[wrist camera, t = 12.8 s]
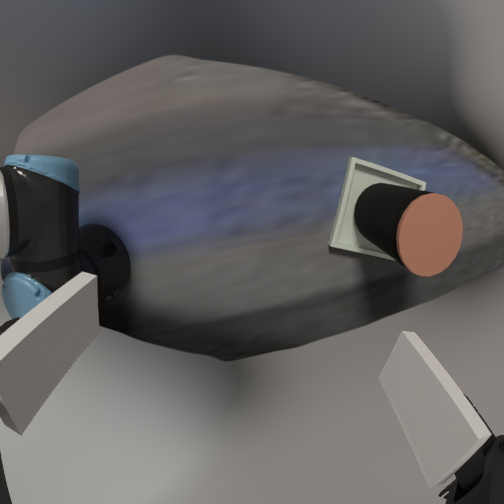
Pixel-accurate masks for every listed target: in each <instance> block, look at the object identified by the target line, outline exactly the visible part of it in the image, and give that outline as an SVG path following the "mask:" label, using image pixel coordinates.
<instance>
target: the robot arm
mask: <svg viewBox="0 0 504 504" xmlns="http://www.w3.org/2000/svg"><path fill="white" fill-rule="evenodd" d="M4 166H5V167H0V258H6V257H10V261H11V268H12V273H10V274H9V275H7V277H6V279H5V280H4V284H3V285H2V296H3V300H4V304H5V306H6V309H7V311H8V313H9V314H10V316H11V318H12V320H9V321H7V322H5V323H4V324H3V325H2V326H1V327H0V417H1V419H2V421H3V423H4V424H5V425H6V426H7V427H9V428H11V429H12V430H14V431H15V432H17V433H18V434H20V435H22V434H23V432H24V430H25V429H26V428H27V426H28V425H29V423H30V422H31V421H32V419H33V418H34V416H35V415H36V413H37V412H38V411H39V409H40V408H41V406H42V405H43V403H44V402H45V401H46V399H47V398H48V397H49V395H50V394H51V393H52V391H53V390H54V388H55V387H56V386H57V385H58V383H59V382H60V380H61V379H62V378H63V377H64V375H65V374H66V373H67V371H68V370H69V369H70V367H71V366H72V365H73V364H74V362H75V361H76V360H77V358H78V357H79V356H80V355H81V353H82V352H83V351H84V350H85V348H86V347H87V346H88V345H89V343H90V342H91V341H92V340H93V339H94V337H95V336H96V335H97V334H98V332H99V317H98V302H102V301H106V300H109V299H111V298H113V297H115V296H116V295H117V294H118V293H119V292H120V291H121V290H122V289H123V288H124V287H125V285H126V284H127V281H128V279H129V275H130V260H129V256H128V253H127V250H126V248H125V246H124V244H123V242H122V241H121V240H120V238H119V237H118V236H117V235H116V234H115V233H114V232H113V231H111V230H110V229H108V228H107V227H105V226H102V225H98V224H88V225H85V226H82V227H80V228H79V194H80V189H79V170H78V167H77V165H76V163H75V162H73V161H72V160H69V159H65V158H60V157H52V156H42V155H31V156H30V155H10V156H8V157H7V158H6V161H5V163H4ZM378 379H379V381H380V383H381V385H382V387H383V389H384V391H385V393H386V395H387V397H388V399H389V401H390V403H391V405H392V407H393V409H394V411H395V413H396V415H397V418H398V420H399V422H400V424H401V426H402V428H403V430H404V432H405V434H406V437H407V439H408V441H409V443H410V445H411V448H412V449H413V452H414V454H415V456H416V459H417V461H418V463H419V465H420V467H421V470H422V472H423V475H424V477H425V479H426V482H427V484H428V486H429V488H431V487H434V486H437V485H440V484H443V483H444V482H446V481H447V480H448V479H449V478H450V477H451V476H452V475H453V474H455V476H456V479H455V480H454V481H453V482H452V483H451V484H450V485H448V486H447V487H446V488H445V489H444V490H443V491H441V492H440V494H439V496H440V497H441V496H442V495H443V494H445V493H446V492H447V491H449V493H448V494H447V495H446V496H444V498H445V499H447V501H446V504H504V435H500V436H497V437H495V435H494V434H493V433H492V431H491V429H490V428H489V427H488V425H487V424H486V422H485V421H484V419H483V418H482V416H481V415H480V414H479V413H478V411H477V409H476V408H475V407H473V404H472V402H471V401H470V400H469V398H468V397H467V396H466V395H465V394H464V393H462V392H461V390H460V389H459V388H458V386H457V385H456V384H455V383H454V381H453V380H452V379H451V377H450V376H449V375H448V373H447V372H446V371H445V369H444V368H443V367H442V365H441V364H440V363H439V362H438V360H436V358H435V357H434V356H433V354H432V353H431V352H430V351H429V349H428V348H427V347H426V346H425V345H424V343H423V342H422V341H421V340H420V338H419V337H418V336H417V335H416V334H415V333H414V332H406V331H402V332H401V334H400V336H399V338H398V341H397V343H396V345H395V347H394V349H393V351H392V353H391V355H390V357H389V359H388V361H387V363H386V365H385V367H384V368H383V370H382V372H381V374H380V376H379V378H378ZM0 504H12V502H11V498H10V495H9V491H8V487H7V483H6V479H5V474H4V470H3V465H2V459H1V453H0Z"/></svg>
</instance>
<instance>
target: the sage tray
mask: <svg viewBox="0 0 504 504" xmlns="http://www.w3.org/2000/svg"><path fill="white" fill-rule="evenodd" d="M377 183H387V184H393V185H398V186H403V187H408V188H413V189H418V190H423V191H425V187H426V183H425V182H423V181H420V180H418V179H415V178H413V177H410V176H407V175H405V174H402V173H399V172H396V171H394V170H391V169H388V168H385V167H382V166H379V165H376V164H373V163H370V162H367V161H364V160H361V159H357V158H354V157H349V159H348V164H347V168H346V173H345V177H344V182H343V186H342V190H341V195H340V199H339V203H338V207H337V211H336V215H335V219H334V223H333V227H332V231H331V234H330V238H329V242H328V244H329V245H330V246H331V247H336V248H340V249H345V250H350V251H354V252H359V253H363V254H368V255H372V256H377V257H381V258H385V259H390V260H394V259H393V258H392V257H390V256H389V255H388V254H386V253H385V252H384V251H382V250H381V249H380V248H378V247H377V246H375V245H374V244H373V243H371V242H370V241H368V240H367V239H366V238H365V237H364V236H363V235H362V234H361V233H360V232H359V230H358V228H357V226H356V224H355V219H354V210H355V204H356V202H357V199H358V197H359V196H360V194H361V193H362V192H363V191H364V189H366V188H367V187H369V186H371V185H372V184H377ZM394 261H396V260H394Z"/></svg>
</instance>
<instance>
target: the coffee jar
mask: <svg viewBox="0 0 504 504" xmlns="http://www.w3.org/2000/svg"><path fill="white" fill-rule="evenodd" d="M354 219H355V224H356V226H357V228H358V230H359V232H360V233H361V234H362V235H363V236H364V237H365V238H366V239H367V240H368V241H370V242H371V243H373V244H374V245H375V246H377V247H378V248H380V249H381V250H382V251H384V252H385V253H386V254H388V255H389V256H390V257H392V258H393V259H394V260H396V261H397V262H398V263H400V264H401V265H403V266H405V267H407V268H408V269H409V270H410V271H411V272H412V273H414V274H417V275H419V276H433V275H435V274H438V273H440V272H442V271H443V270H444V269H446V268H447V267H448V266H449V265H450V264H451V262H452V261H453V260H454V258H455V257H456V255H457V253H458V250H459V248H460V246H461V241H462V235H463V226H462V219H461V216H460V212H459V210H458V208H457V207H456V206H455V204H454V203H453V201H451V200H450V199H449V198H447V197H446V196H444V195H440V194H435V193H432V192H427V191H423V190H418V189H413V188H408V187H403V186H398V185H393V184H387V183H377V184H372V185H371V186H369V187H367V188H366V189H364V191H363V192H362V193H361V194H360V196H359V197H358V199H357V202H356V204H355V210H354Z"/></svg>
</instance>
